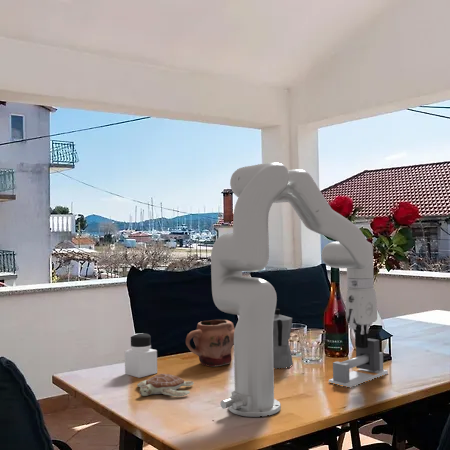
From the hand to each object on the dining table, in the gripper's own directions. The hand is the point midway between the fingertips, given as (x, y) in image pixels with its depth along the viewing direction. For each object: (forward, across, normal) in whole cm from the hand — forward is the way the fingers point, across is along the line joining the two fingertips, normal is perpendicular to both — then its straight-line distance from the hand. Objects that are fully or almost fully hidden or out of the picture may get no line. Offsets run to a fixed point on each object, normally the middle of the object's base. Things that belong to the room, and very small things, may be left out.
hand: (361, 347), depth 156 cm
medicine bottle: (+9, -42, +51) cm, 66 cm away
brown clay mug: (+9, -20, +43) cm, 48 cm away
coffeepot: (+9, -6, +26) cm, 28 cm away
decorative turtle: (+9, -48, +32) cm, 58 cm away
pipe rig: (+9, -2, 0) cm, 9 cm away
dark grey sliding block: (+7, +3, 0) cm, 8 cm away
